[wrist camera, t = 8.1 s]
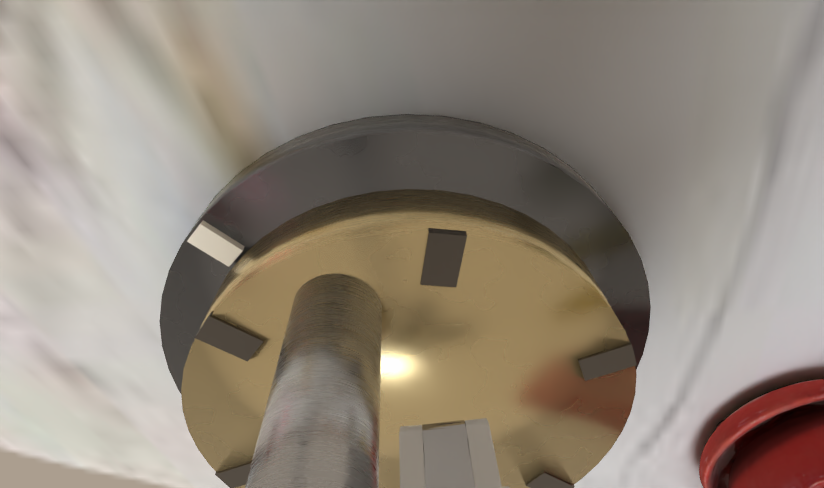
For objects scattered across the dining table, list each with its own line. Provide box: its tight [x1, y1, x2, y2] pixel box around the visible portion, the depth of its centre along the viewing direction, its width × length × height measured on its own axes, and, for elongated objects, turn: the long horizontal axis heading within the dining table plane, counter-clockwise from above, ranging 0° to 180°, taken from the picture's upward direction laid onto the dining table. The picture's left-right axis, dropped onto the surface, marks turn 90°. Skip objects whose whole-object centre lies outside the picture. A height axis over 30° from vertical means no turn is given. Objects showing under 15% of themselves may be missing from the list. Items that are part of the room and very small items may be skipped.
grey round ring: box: [160, 114, 650, 393], centre depth 23 cm, size 22×22×2 cm
